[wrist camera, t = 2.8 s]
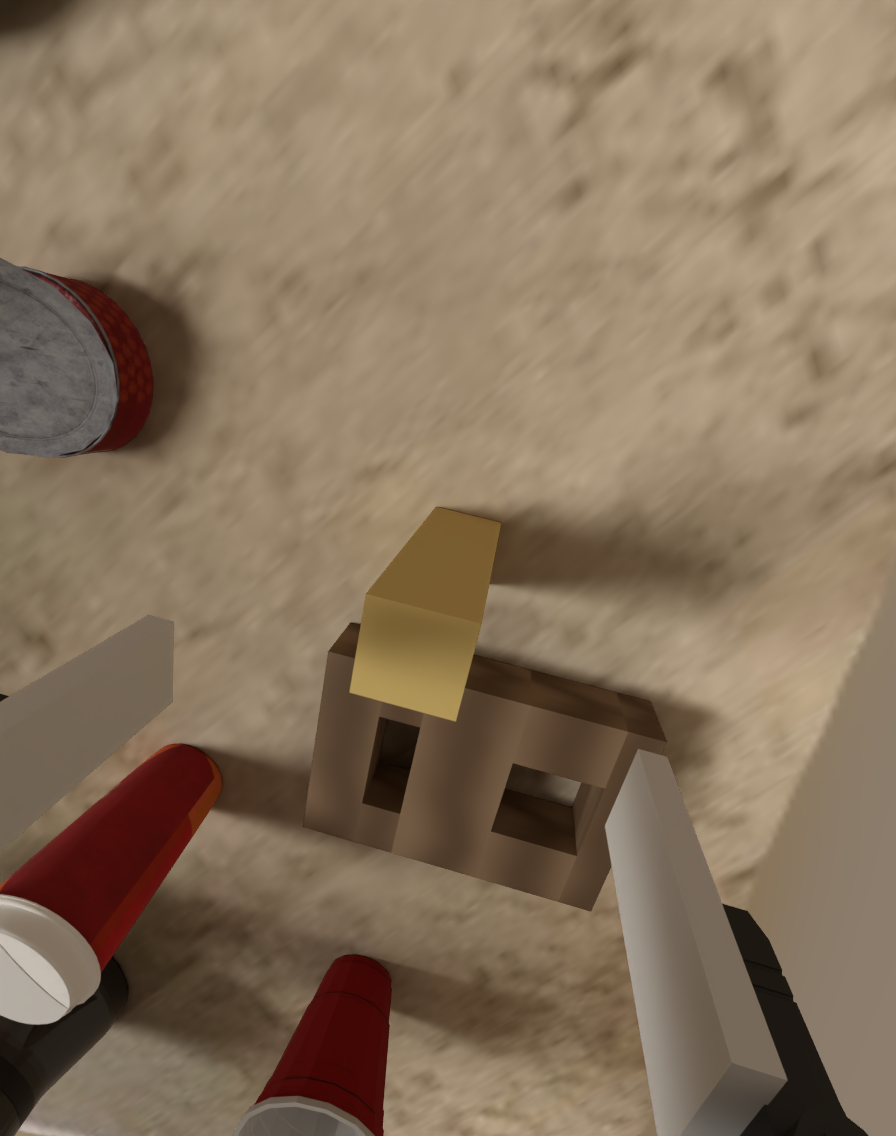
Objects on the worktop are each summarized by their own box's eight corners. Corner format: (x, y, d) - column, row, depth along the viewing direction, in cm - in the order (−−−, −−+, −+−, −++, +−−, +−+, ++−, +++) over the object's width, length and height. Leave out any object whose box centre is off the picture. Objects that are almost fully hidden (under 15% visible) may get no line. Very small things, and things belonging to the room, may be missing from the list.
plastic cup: (435, 958, 43) (403, 1159, 32) (403, 1031, 47) (364, 1233, 35) (315, 914, 43) (241, 1097, 32) (293, 990, 47) (220, 1177, 36)
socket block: (324, 784, 38) (302, 826, 35) (350, 622, 33) (328, 651, 30) (584, 859, 37) (591, 911, 33) (650, 701, 32) (667, 742, 28)
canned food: (147, 294, 33) (96, 217, 24) (185, 450, 35) (150, 435, 26) (-64, 302, 30) (-219, 216, 21) (-10, 473, 32) (-130, 465, 23)
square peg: (423, 568, 31) (349, 692, 18) (435, 506, 30) (365, 594, 17) (485, 584, 31) (455, 721, 18) (501, 522, 30) (481, 623, 17)
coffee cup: (122, 738, 40) (-97, 925, 26) (212, 724, 38) (28, 917, 24) (166, 821, 42) (-13, 1034, 28) (252, 812, 40) (106, 1035, 26)
